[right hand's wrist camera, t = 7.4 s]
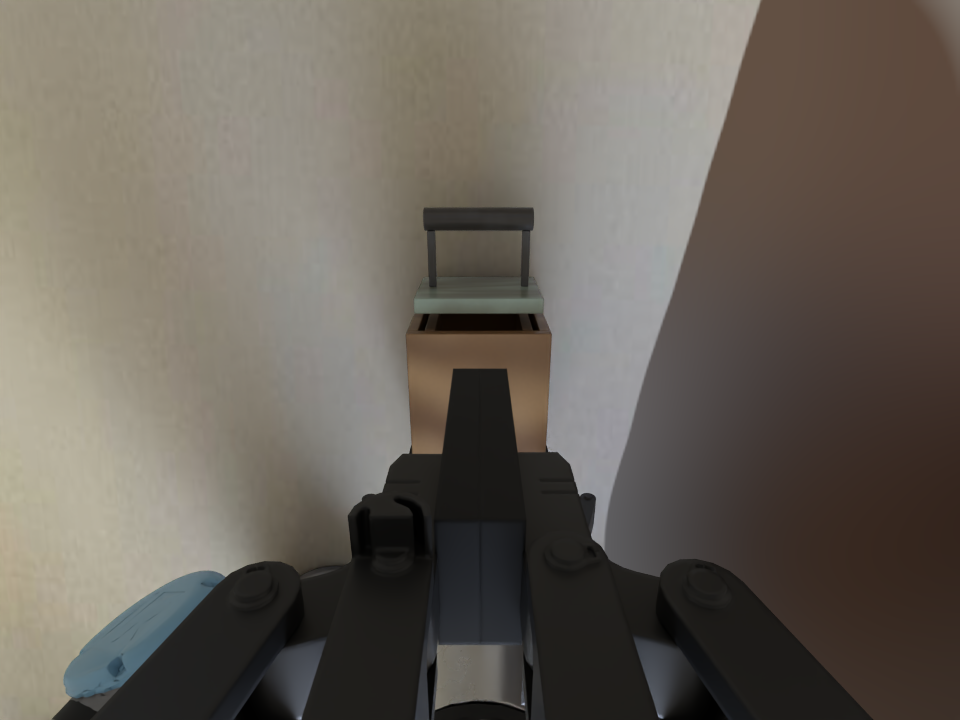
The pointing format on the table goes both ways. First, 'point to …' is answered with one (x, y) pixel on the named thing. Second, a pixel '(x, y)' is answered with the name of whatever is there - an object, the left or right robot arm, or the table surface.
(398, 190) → the table surface
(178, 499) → the table surface
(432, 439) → the cabinet
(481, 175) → the table surface
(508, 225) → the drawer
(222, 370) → the table surface
